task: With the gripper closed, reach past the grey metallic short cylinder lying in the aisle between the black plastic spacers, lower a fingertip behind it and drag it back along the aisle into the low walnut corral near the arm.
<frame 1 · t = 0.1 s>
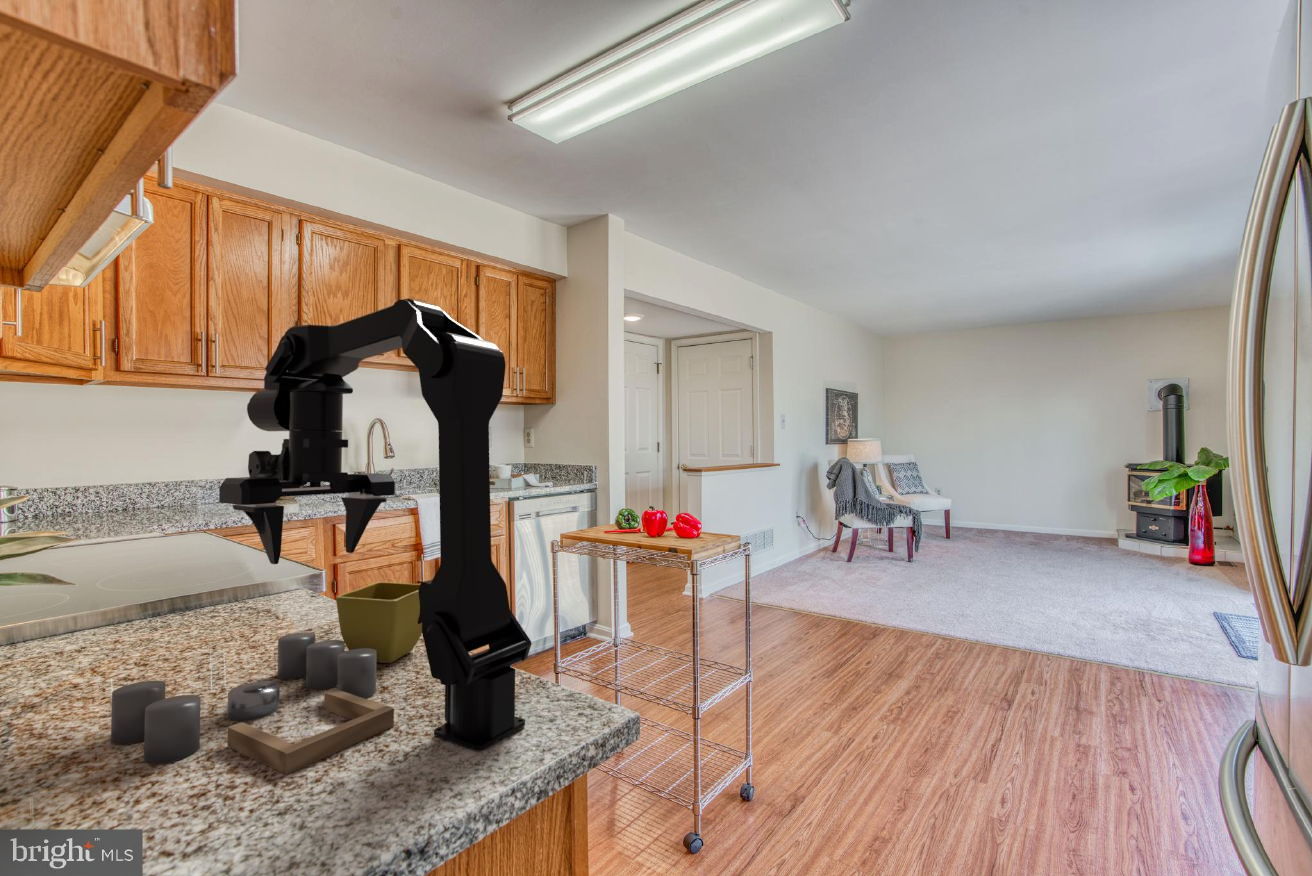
hand: (313, 557, 75), 15 cm above the table, fingers open, 9 cm apart
grey metallic short cylinder: (253, 712, 65), on the table
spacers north: (154, 743, 57), on the table
corral: (311, 735, 59), on the table
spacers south: (325, 683, 72), on the table
flower pot: (384, 658, 82), on the table
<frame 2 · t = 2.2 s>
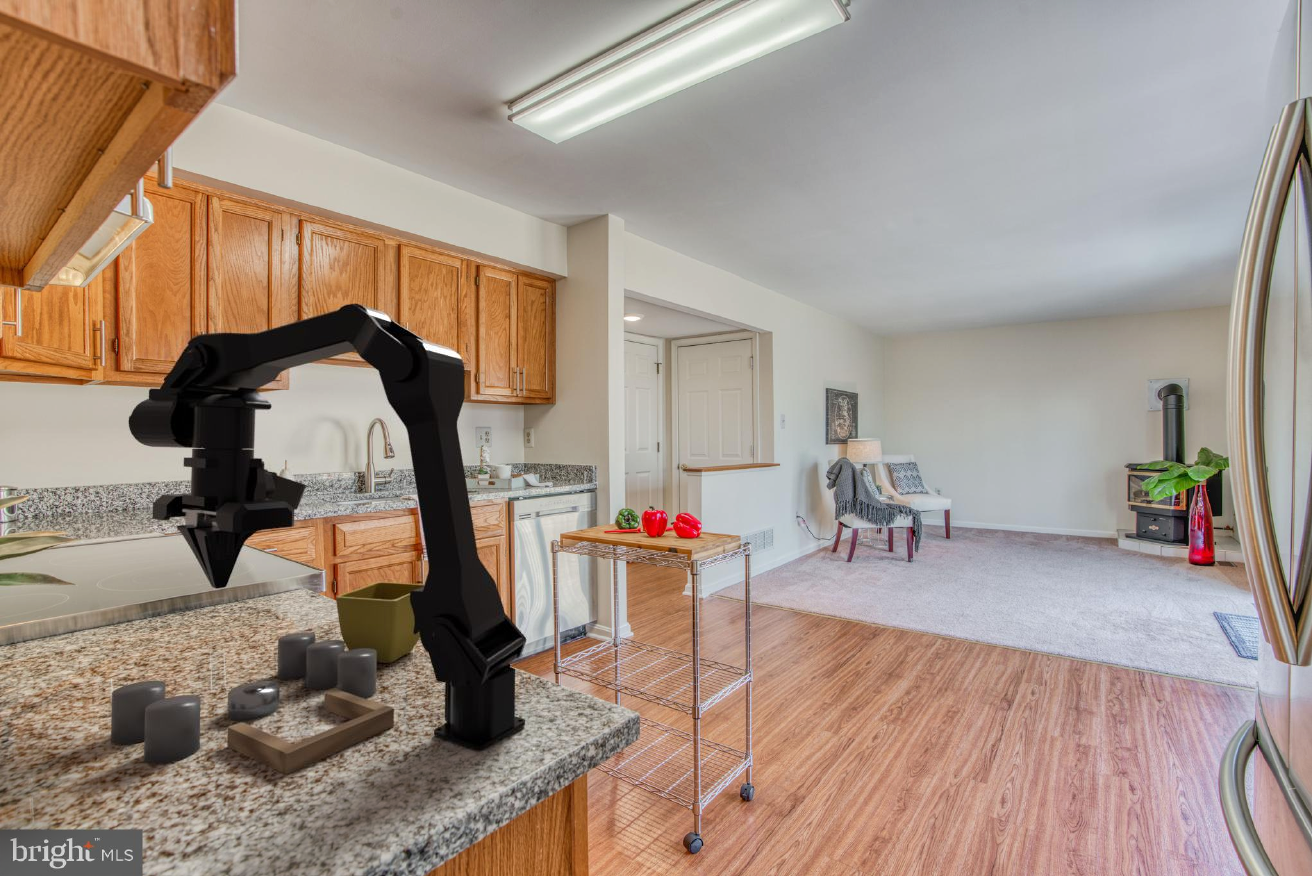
hand: (219, 587, 68), 12 cm above the table, fingers closed
nothing on the table moved.
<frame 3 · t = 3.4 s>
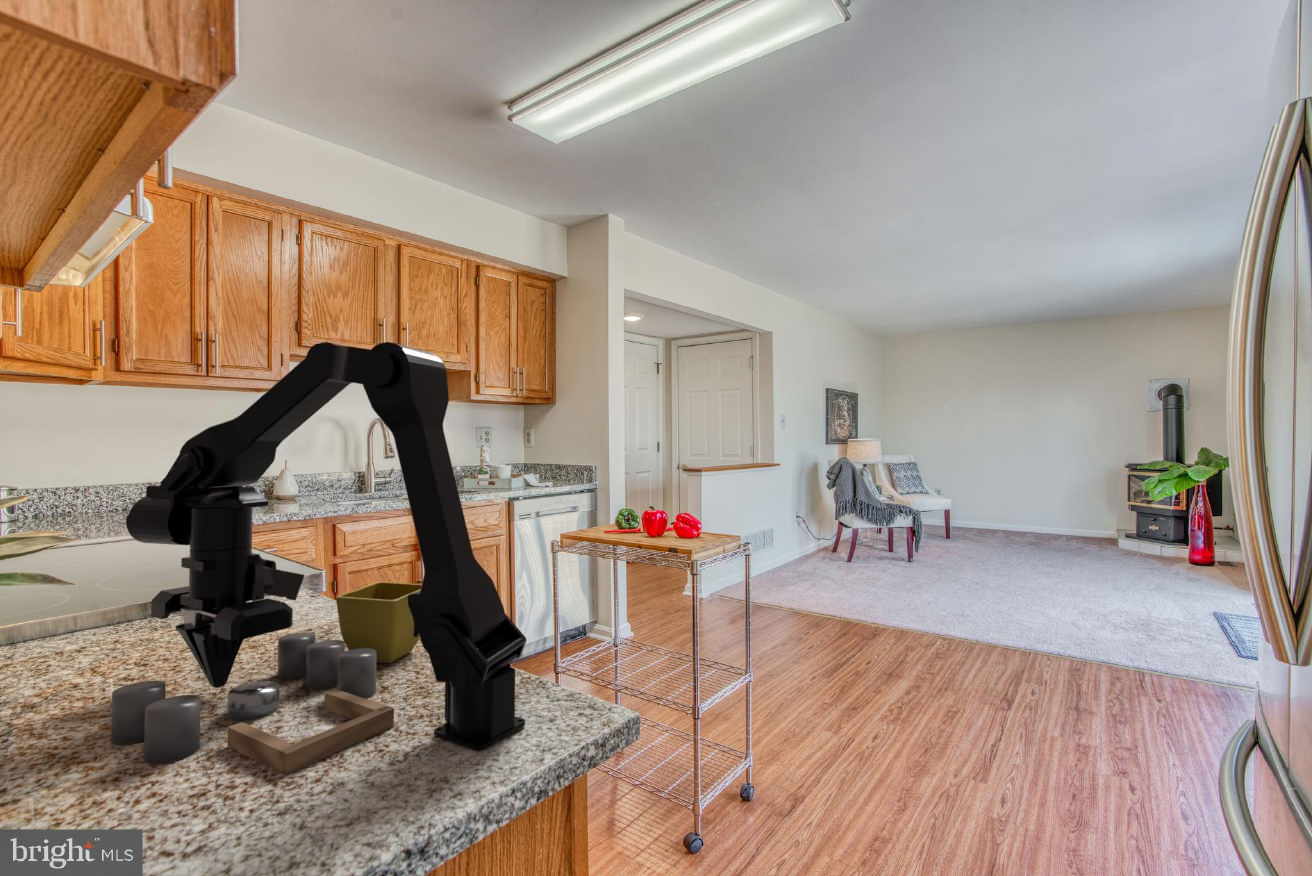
hand: (218, 686, 68), 1 cm above the table, fingers closed
nothing on the table moved.
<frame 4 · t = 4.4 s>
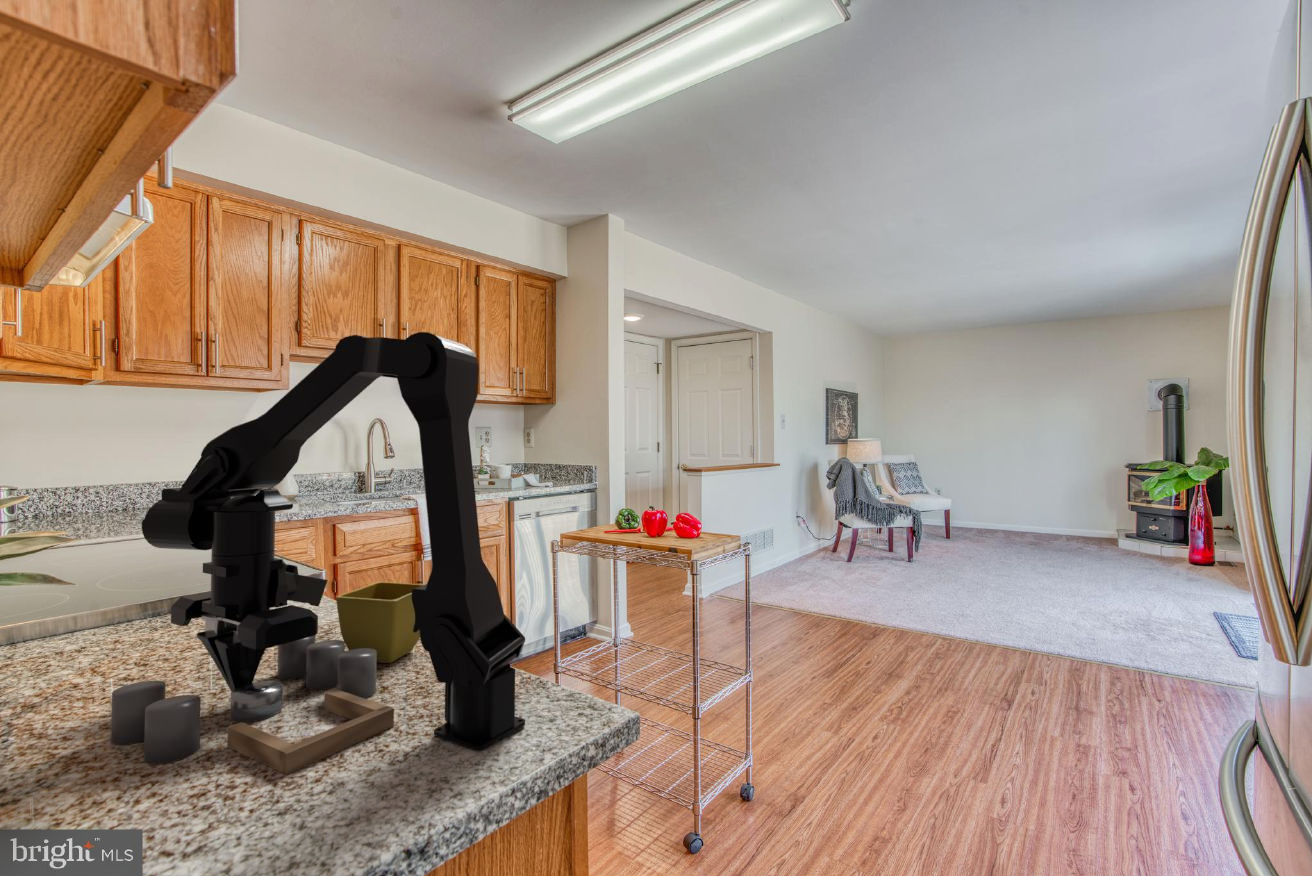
hand: (241, 695, 66), 1 cm above the table, fingers closed
grey metallic short cylinder: (256, 712, 64), on the table, touching gripper
everything else where it was.
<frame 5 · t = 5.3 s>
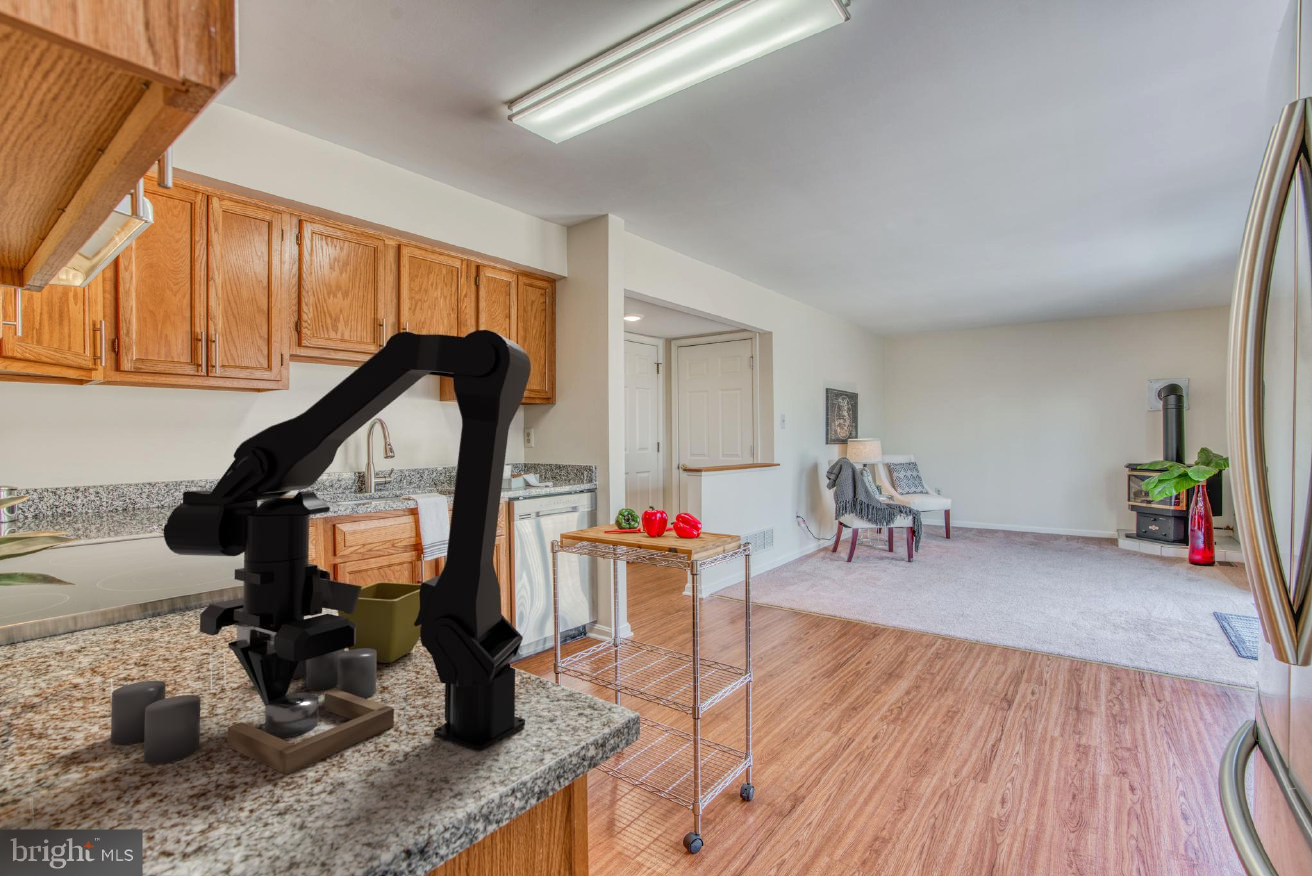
hand: (274, 708, 63), 1 cm above the table, fingers closed
grey metallic short cylinder: (291, 727, 61), on the table, touching gripper
everything else where it was.
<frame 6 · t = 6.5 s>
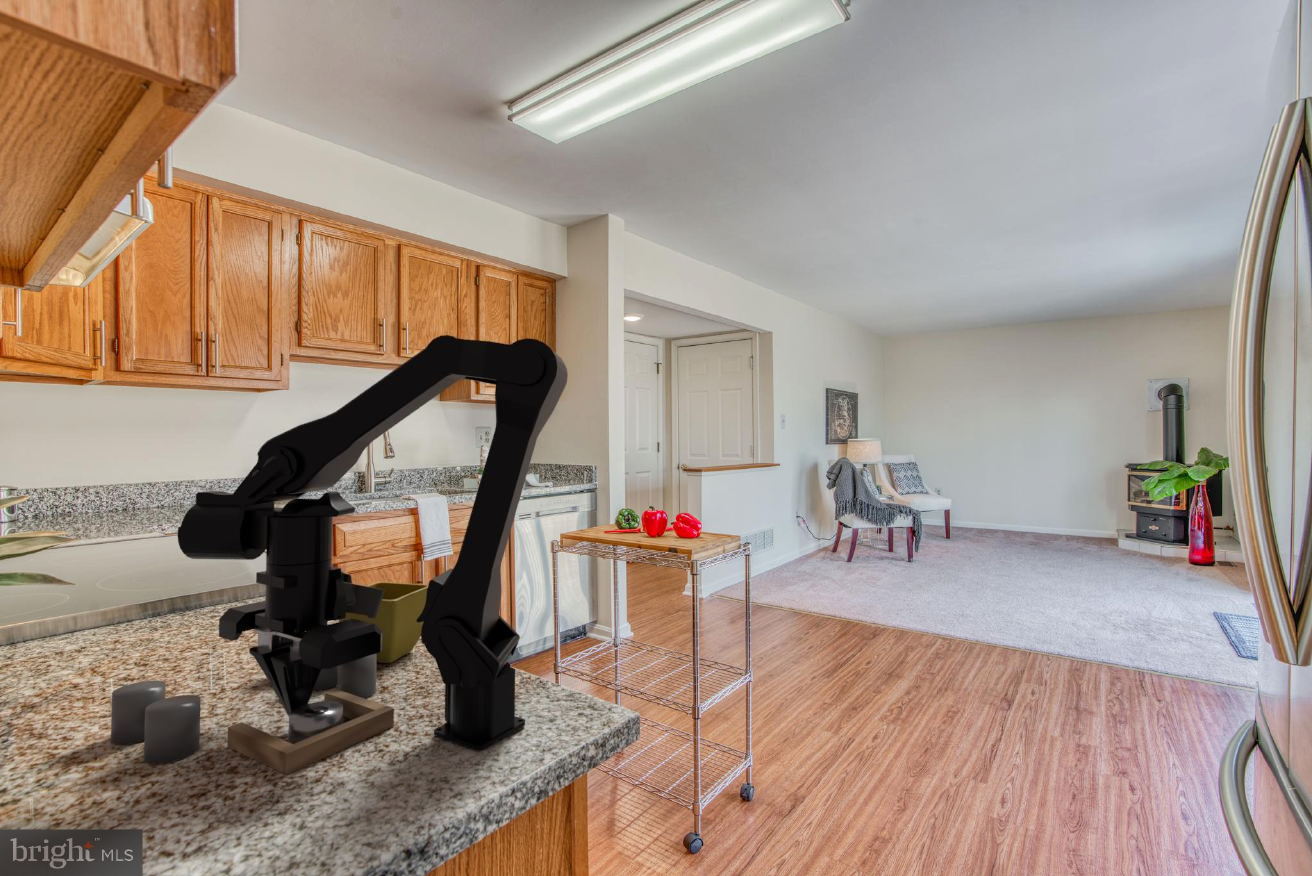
hand: (296, 716, 61), 1 cm above the table, fingers closed
grey metallic short cylinder: (315, 736, 59), on the table, touching gripper
everything else where it was.
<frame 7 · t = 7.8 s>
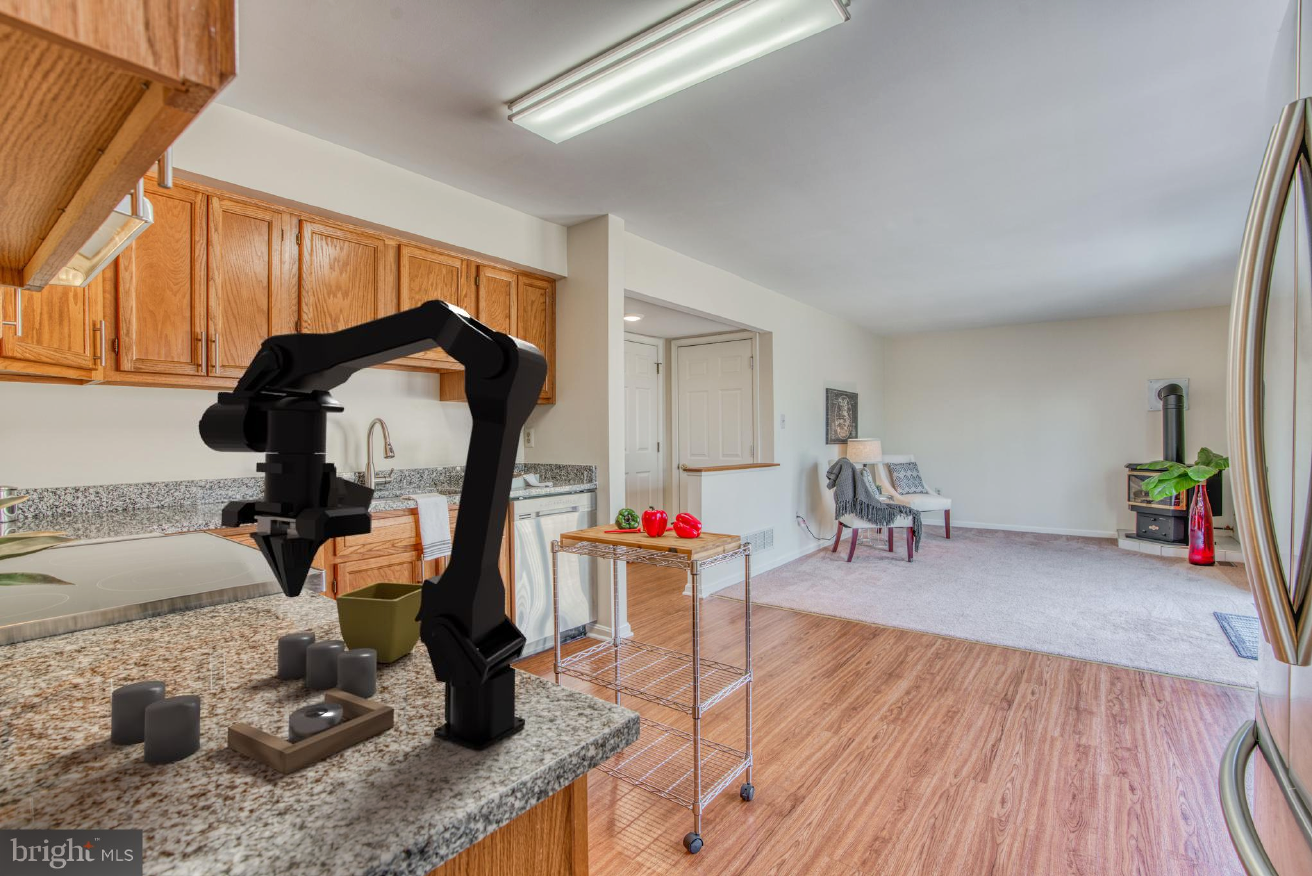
hand: (292, 596, 66), 12 cm above the table, fingers closed
grey metallic short cylinder: (315, 738, 59), on the table
everything else where it was.
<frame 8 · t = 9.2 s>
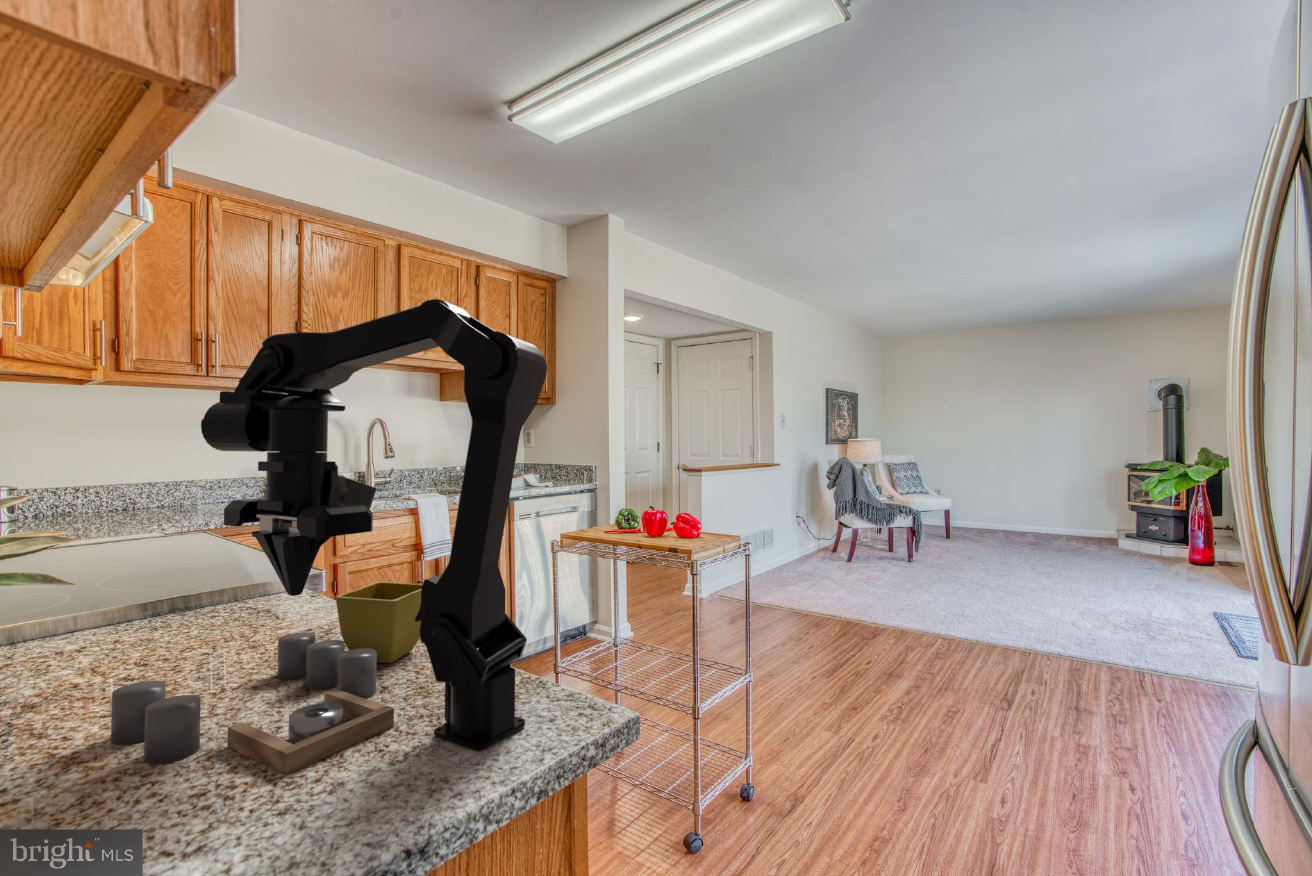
hand: (294, 594, 66), 12 cm above the table, fingers closed
nothing on the table moved.
at the end: grey metallic short cylinder inside the target area on the corral (0.4 cm from its centre), point 0.0 cm above the corral's base; grey metallic short cylinder moved 11.2 cm from its start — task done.
